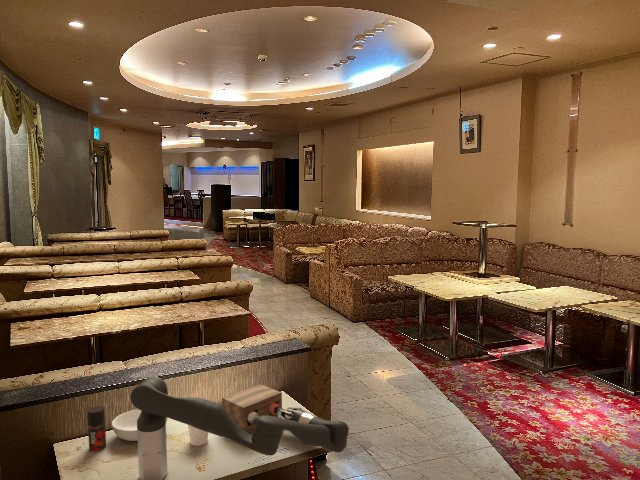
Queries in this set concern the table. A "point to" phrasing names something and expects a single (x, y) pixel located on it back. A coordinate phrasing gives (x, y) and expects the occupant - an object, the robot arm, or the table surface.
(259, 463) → the table surface
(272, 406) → the red plug
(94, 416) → the deodorant
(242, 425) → the socket block
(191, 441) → the white cup
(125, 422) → the serving bowl
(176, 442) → the table surface
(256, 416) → the grey plug
